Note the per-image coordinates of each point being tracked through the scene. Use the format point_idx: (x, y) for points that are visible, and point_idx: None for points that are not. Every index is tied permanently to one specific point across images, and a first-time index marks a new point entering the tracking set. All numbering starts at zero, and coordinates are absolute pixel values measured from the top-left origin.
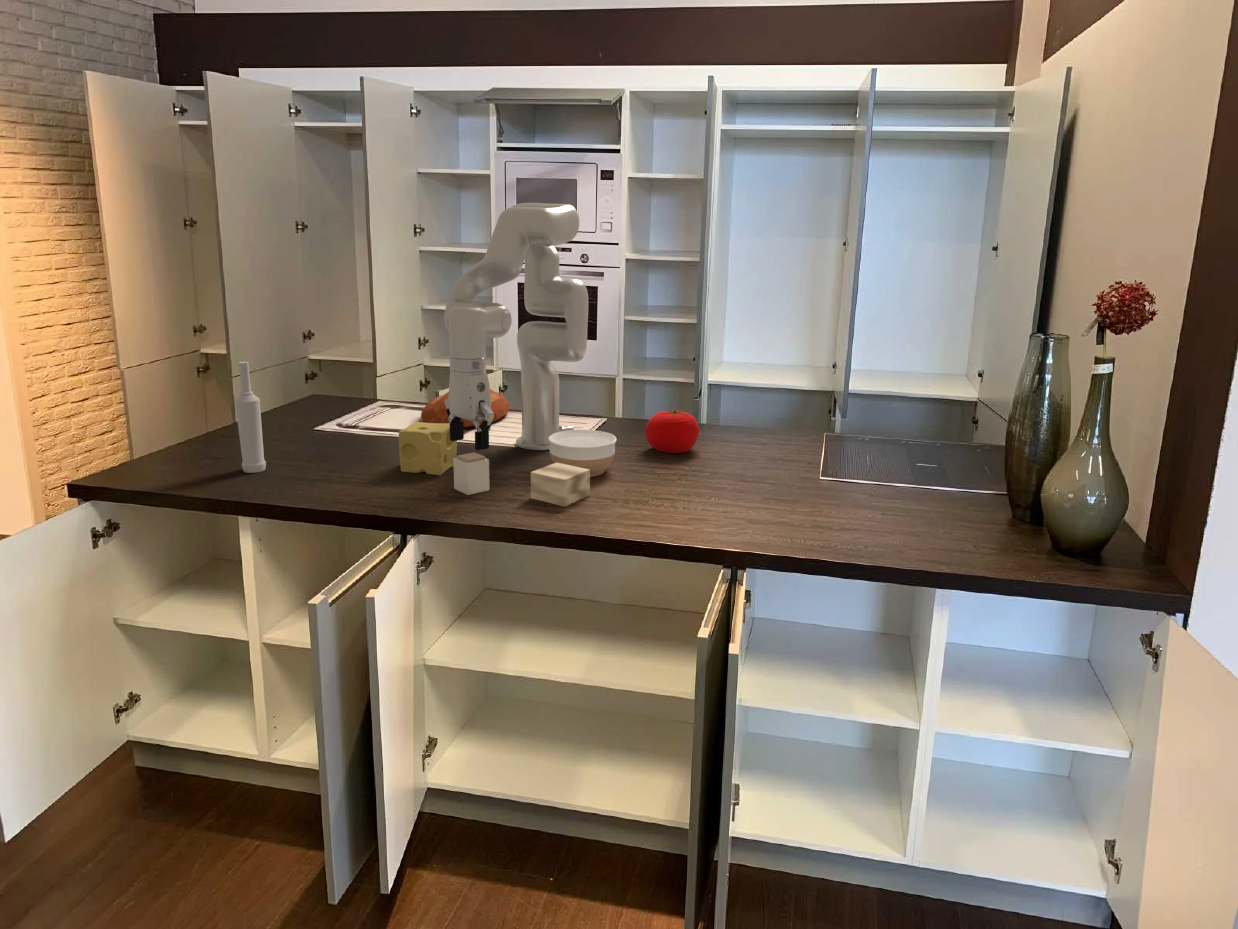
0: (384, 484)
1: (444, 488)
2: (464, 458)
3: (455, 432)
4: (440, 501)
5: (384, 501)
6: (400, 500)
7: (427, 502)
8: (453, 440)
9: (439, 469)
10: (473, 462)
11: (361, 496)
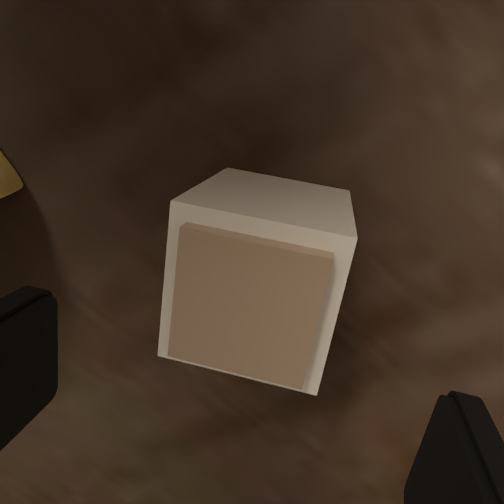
0: None
1: None
2: (253, 373)
3: (4, 411)
4: (294, 411)
5: (156, 493)
6: (183, 466)
7: (266, 440)
8: (54, 384)
9: (4, 195)
10: (323, 351)
11: (71, 492)
